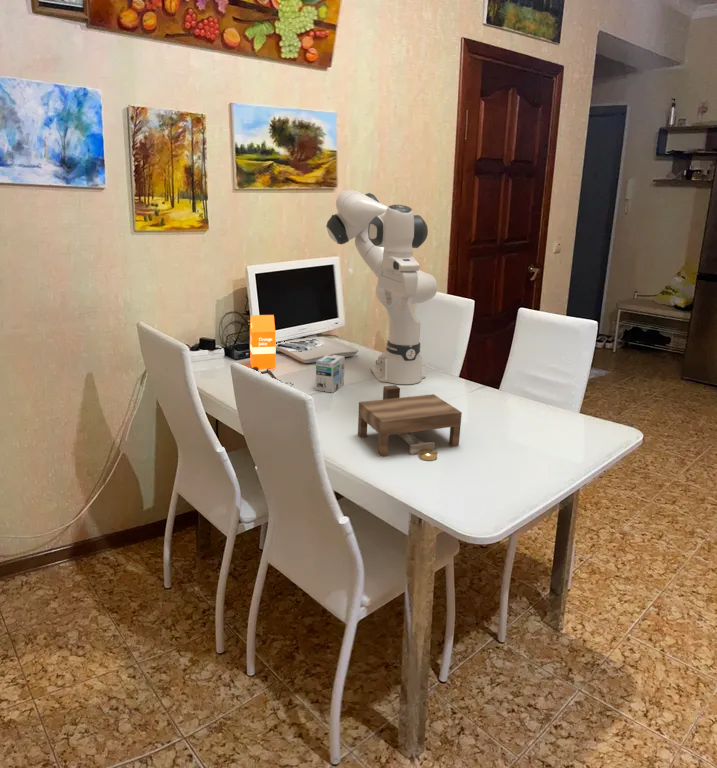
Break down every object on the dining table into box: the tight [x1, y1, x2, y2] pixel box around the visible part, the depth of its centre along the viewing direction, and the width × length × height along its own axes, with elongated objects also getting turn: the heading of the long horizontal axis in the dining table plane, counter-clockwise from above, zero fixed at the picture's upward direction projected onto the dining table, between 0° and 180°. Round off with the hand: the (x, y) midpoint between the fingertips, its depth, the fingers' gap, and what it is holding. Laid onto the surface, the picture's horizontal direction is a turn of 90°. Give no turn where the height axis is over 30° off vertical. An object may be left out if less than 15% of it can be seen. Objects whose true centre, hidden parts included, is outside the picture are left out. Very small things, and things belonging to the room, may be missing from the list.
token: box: [417, 449, 438, 462], centre depth 170 cm, size 5×5×2 cm
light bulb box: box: [315, 354, 346, 393], centre depth 222 cm, size 11×7×11 cm, turn 160°
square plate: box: [275, 336, 360, 364], centre depth 265 cm, size 27×27×4 cm
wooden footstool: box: [357, 393, 463, 457], centre depth 179 cm, size 16×24×10 cm, turn 112°
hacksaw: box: [251, 367, 294, 386], centre depth 233 cm, size 24×10×2 cm, turn 21°
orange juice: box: [249, 314, 277, 370], centre depth 243 cm, size 8×9×20 cm
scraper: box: [382, 384, 435, 455], centre depth 181 cm, size 24×7×12 cm, turn 22°
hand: (395, 307), depth 195 cm, fingers open, 8 cm apart
